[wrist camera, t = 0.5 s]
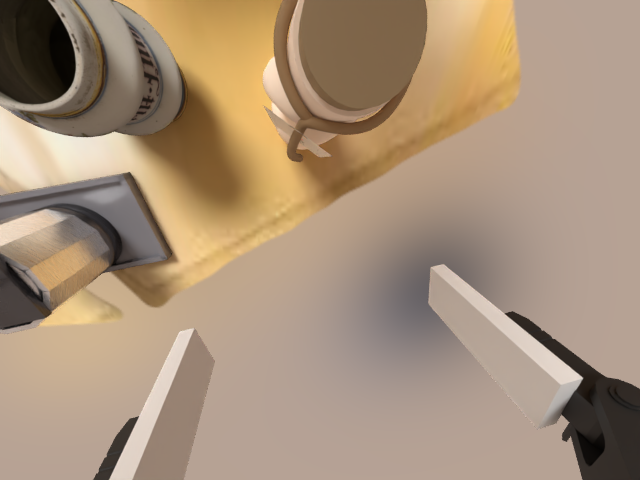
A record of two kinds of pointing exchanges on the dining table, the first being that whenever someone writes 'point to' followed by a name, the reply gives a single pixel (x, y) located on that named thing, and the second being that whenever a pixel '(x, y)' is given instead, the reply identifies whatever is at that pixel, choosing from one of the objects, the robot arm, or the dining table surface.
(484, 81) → the dining table surface
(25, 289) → the french press
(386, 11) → the water bottle
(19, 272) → the plunger
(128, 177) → the tray
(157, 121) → the apothecary jar
